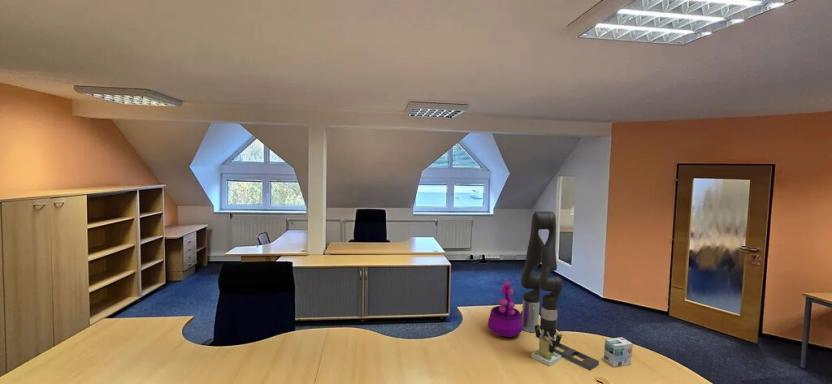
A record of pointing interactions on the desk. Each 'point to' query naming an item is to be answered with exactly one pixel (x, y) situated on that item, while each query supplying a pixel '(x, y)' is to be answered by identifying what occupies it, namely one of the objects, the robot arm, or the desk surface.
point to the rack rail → (569, 353)
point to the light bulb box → (618, 352)
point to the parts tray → (545, 360)
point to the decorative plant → (505, 315)
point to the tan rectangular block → (545, 347)
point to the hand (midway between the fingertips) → (546, 349)
